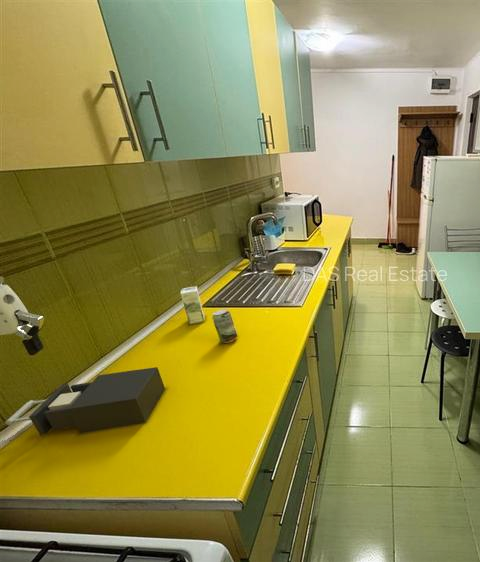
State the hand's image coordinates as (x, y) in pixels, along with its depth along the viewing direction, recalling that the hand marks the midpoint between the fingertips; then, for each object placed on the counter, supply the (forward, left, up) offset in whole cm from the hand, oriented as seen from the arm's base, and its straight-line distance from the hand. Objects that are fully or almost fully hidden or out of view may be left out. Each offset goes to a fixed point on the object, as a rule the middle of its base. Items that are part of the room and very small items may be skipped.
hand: (11, 355), depth 67 cm
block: (+2, +4, -21) cm, 22 cm away
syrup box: (+18, +53, -24) cm, 61 cm away
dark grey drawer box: (+14, +4, -23) cm, 27 cm away
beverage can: (+34, +34, -24) cm, 54 cm away
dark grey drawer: (+1, +4, -22) cm, 23 cm away
